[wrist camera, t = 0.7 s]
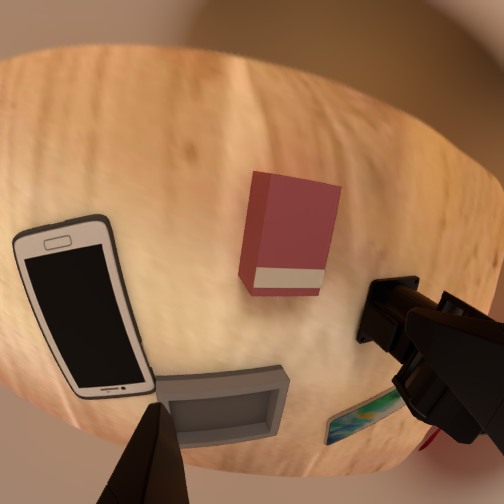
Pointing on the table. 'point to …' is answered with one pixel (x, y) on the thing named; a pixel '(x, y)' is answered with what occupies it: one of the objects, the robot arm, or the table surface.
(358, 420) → the smartphone
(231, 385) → the pocket tray
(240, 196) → the table surface
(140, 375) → the cell phone
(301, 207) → the card box
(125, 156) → the table surface
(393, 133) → the table surface
